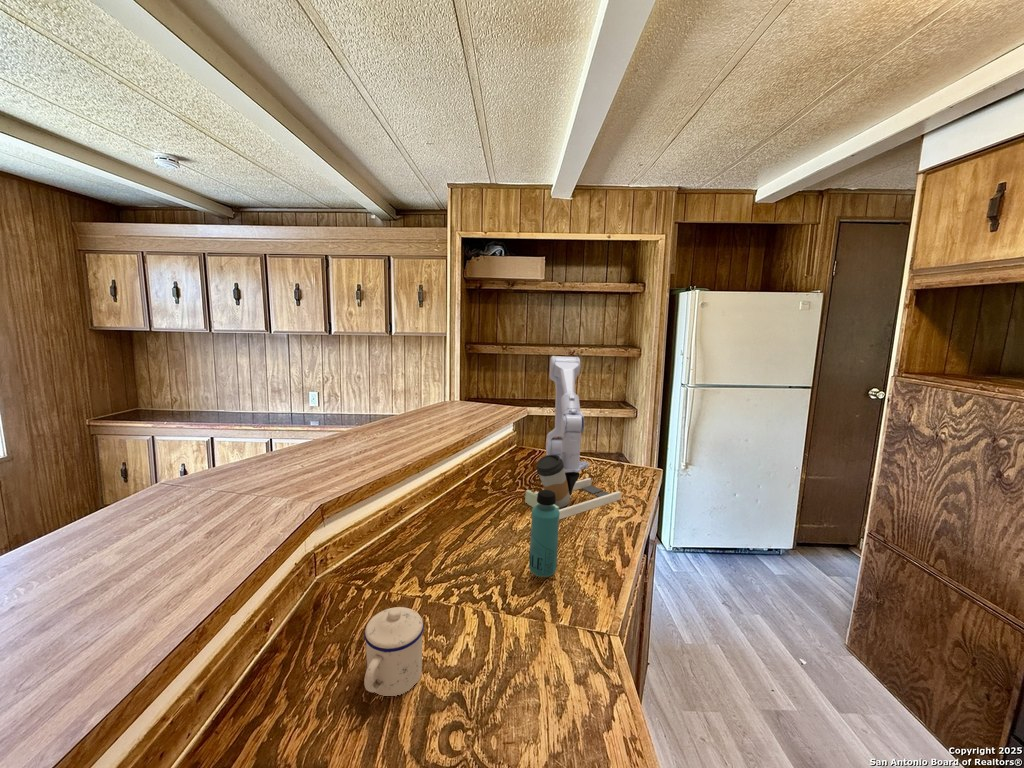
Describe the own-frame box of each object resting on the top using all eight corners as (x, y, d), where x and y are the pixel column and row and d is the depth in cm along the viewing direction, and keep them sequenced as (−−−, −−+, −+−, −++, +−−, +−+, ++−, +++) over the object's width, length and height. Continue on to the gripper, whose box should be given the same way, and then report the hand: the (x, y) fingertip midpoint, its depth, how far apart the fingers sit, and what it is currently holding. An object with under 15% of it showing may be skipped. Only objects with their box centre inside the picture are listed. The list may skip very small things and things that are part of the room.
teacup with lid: (385, 648, 77) (385, 587, 75) (433, 661, 74) (433, 599, 72) (340, 706, 65) (338, 636, 63) (394, 724, 63) (394, 652, 61)
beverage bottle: (559, 570, 102) (564, 489, 98) (552, 587, 96) (557, 500, 92) (532, 564, 104) (536, 484, 101) (523, 580, 98) (528, 495, 94)
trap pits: (581, 489, 149) (581, 488, 149) (592, 486, 152) (592, 485, 152) (606, 501, 140) (606, 500, 140) (616, 497, 143) (616, 496, 143)
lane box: (525, 502, 137) (525, 495, 136) (588, 484, 153) (589, 477, 153) (555, 520, 126) (555, 512, 125) (620, 499, 142) (620, 492, 142)
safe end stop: (525, 502, 137) (525, 490, 136) (528, 501, 138) (528, 489, 137) (555, 521, 126) (555, 507, 125) (558, 520, 126) (559, 506, 126)
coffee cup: (573, 490, 139) (561, 451, 134) (574, 508, 131) (562, 466, 126) (547, 495, 141) (535, 456, 135) (547, 512, 133) (534, 472, 128)
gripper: (562, 460, 128) (559, 504, 130) (596, 452, 136) (593, 493, 138) (546, 453, 133) (543, 495, 135) (580, 446, 142) (577, 486, 144)
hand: (567, 494), depth 137 cm, fingers closed, pressing on coffee cup
